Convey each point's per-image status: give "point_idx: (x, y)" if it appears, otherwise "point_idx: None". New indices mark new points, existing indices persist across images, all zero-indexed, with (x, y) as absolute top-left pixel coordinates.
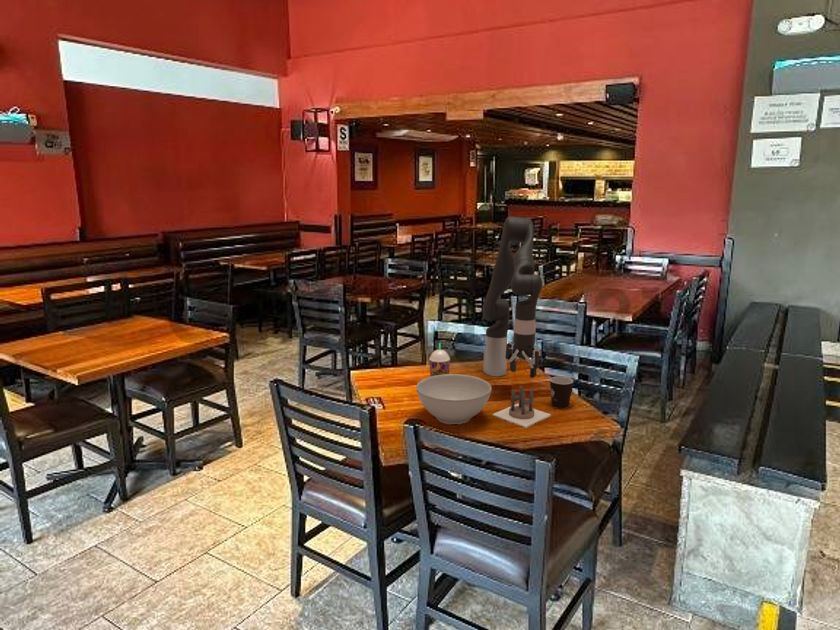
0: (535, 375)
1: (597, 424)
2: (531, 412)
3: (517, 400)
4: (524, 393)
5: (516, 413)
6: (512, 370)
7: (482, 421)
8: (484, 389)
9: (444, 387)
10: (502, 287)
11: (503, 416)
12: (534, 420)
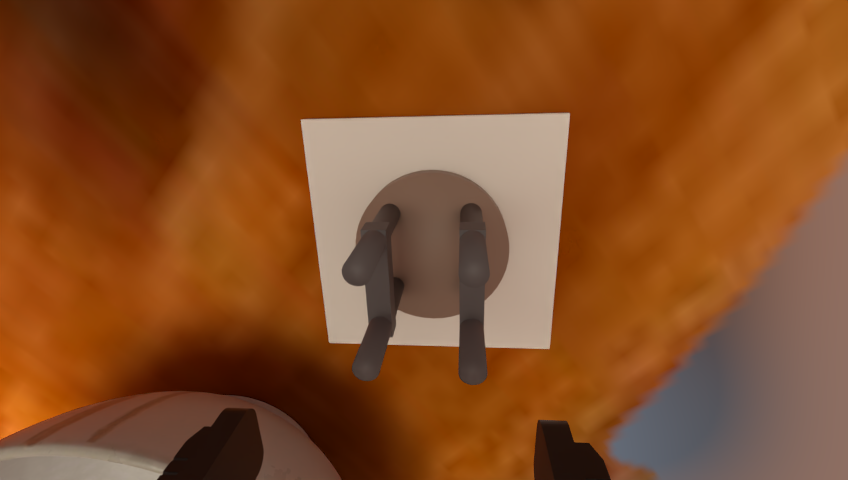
0: (596, 465)
1: None
2: (493, 234)
3: (393, 285)
4: (485, 378)
5: (438, 305)
6: (253, 477)
7: (351, 409)
8: None
9: (21, 476)
10: None
11: None
12: (540, 261)
